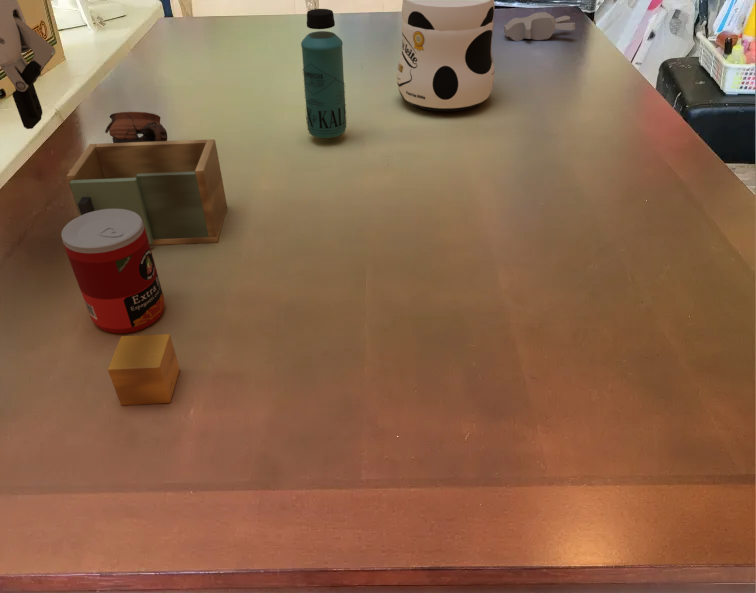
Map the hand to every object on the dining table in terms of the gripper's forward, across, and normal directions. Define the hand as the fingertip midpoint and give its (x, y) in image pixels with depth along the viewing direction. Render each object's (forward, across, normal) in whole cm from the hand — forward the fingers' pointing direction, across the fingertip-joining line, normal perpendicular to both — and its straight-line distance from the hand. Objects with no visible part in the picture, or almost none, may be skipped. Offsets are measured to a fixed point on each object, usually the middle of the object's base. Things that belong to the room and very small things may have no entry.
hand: (4, 123), depth 70 cm
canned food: (+18, +12, -12) cm, 24 cm away
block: (+17, +17, -23) cm, 34 cm away
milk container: (+18, +54, +48) cm, 74 cm away
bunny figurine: (+18, +80, +85) cm, 118 cm away
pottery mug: (+18, +4, +29) cm, 34 cm away
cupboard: (+17, +12, +7) cm, 22 cm away
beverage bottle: (+18, +33, +33) cm, 50 cm away
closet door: (+17, +8, +1) cm, 18 cm away
